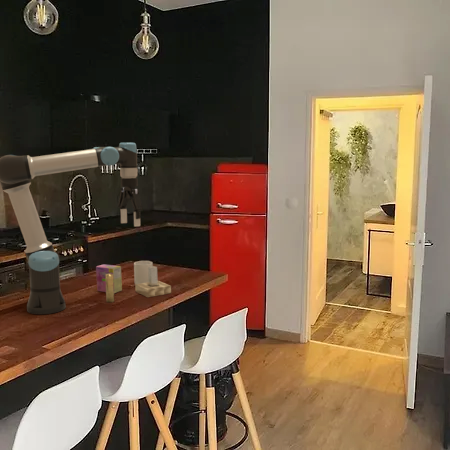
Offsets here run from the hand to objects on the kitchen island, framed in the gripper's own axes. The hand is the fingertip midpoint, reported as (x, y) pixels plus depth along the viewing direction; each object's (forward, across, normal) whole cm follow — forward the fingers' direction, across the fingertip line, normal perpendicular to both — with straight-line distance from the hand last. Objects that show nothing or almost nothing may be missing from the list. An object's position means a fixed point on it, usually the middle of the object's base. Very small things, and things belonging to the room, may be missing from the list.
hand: (130, 224), depth 240 cm
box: (+32, +10, +7) cm, 34 cm away
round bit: (+32, -7, +14) cm, 35 cm away
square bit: (+32, -5, -8) cm, 33 cm away
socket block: (+32, -5, -8) cm, 33 cm away
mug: (+32, +11, -12) cm, 36 cm away
